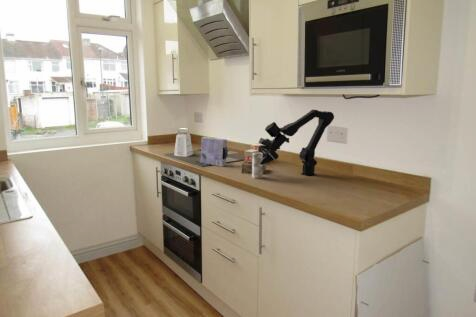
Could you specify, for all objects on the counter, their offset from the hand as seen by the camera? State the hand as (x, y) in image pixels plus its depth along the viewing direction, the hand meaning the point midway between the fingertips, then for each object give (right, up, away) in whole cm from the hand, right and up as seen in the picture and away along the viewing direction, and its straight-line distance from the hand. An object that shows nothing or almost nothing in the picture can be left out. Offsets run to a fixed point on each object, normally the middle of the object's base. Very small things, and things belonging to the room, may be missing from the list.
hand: (257, 162), depth 195 cm
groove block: (-1, -5, +17) cm, 18 cm away
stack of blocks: (+1, -1, +44) cm, 44 cm away
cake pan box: (-27, -2, +35) cm, 44 cm away
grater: (-52, +5, +68) cm, 86 cm away
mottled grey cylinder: (0, -8, +2) cm, 8 cm away
